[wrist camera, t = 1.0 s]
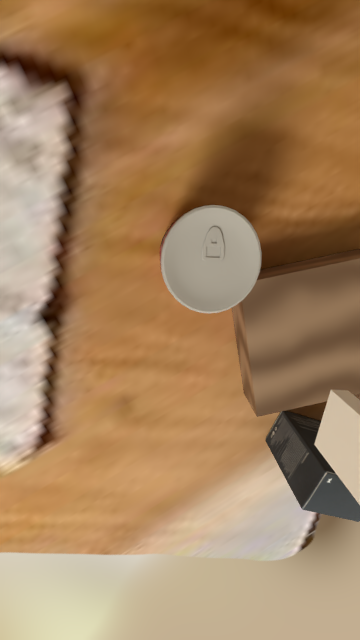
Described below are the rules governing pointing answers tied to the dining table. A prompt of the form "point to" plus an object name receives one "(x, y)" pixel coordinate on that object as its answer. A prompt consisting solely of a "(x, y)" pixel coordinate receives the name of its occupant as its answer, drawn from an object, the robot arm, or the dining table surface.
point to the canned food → (210, 258)
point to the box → (309, 468)
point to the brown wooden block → (300, 333)
